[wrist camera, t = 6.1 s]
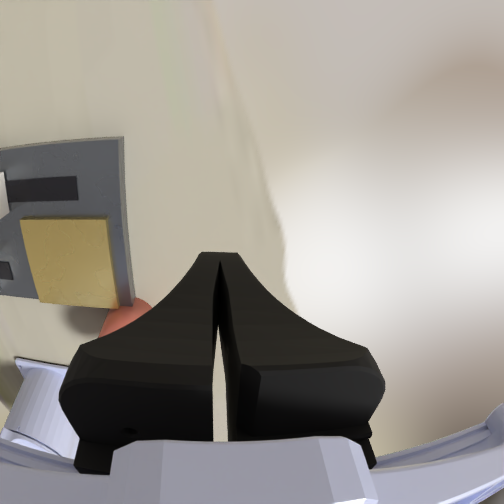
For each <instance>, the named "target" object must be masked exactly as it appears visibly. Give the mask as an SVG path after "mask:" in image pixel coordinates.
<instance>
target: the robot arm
mask: <svg viewBox="0 0 504 504" xmlns="http://www.w3.org/2000/svg"><path fill="white" fill-rule="evenodd" d="M218 327H219V335H220V342H221V350H222V357H223V364H224V372H225V381H226V402H227V428H228V442H213V393H212V383H213V368H214V359H215V349H216V340H217V330H218ZM15 363H16V365H17V367H18V368H19V370H20V372H21V374H22V376H23V378H24V381H23V383H22V385H21V388H20V390H19V392H18V394H17V397H16V399H15V401H14V403H13V406H12V408H11V410H10V413H9V415H8V418H7V420H6V423H5V425H4V427H3V428H2V431H1V433H0V504H477V503H479V502H481V501H483V500H484V499H486V498H488V497H489V496H491V495H493V494H494V493H496V492H497V491H499V490H500V489H502V488H504V403H502V404H500V405H499V406H497V407H496V408H495V409H494V410H493V411H492V412H491V413H490V414H489V416H488V417H487V418H486V420H485V422H482V423H480V424H478V425H475V426H473V427H470V428H468V429H465V430H463V431H460V432H457V433H455V434H452V435H449V436H446V437H444V438H441V439H438V440H435V441H432V442H429V443H426V444H423V445H419V446H416V447H413V448H409V449H405V450H402V451H399V452H394V453H391V454H387V455H383V456H378V457H375V455H374V452H373V450H372V447H371V444H370V441H369V439H368V438H370V437H371V436H372V431H371V428H370V425H369V423H368V421H369V420H370V418H371V416H372V415H373V413H374V411H375V410H376V408H377V406H378V404H379V403H380V401H381V399H382V397H383V394H384V392H385V380H384V378H383V376H382V374H381V372H380V370H379V368H378V365H377V363H376V362H375V360H374V358H373V357H372V355H371V353H370V352H369V350H368V349H367V348H366V347H363V346H361V345H358V344H355V343H352V342H350V341H347V340H344V339H342V338H339V337H337V336H335V335H332V334H330V333H328V332H326V331H324V330H322V329H320V328H318V327H316V326H314V325H313V324H311V323H309V322H307V321H306V320H305V319H303V318H301V317H300V316H298V315H297V314H295V313H294V312H292V311H291V310H290V309H288V308H287V307H286V306H284V305H283V304H282V303H281V302H279V301H278V300H277V299H276V298H275V297H274V296H273V295H271V294H270V293H269V292H268V291H267V290H266V288H265V287H264V286H263V285H262V284H261V283H260V282H259V281H258V279H257V278H256V277H255V276H254V275H253V273H252V272H251V271H250V269H249V268H248V267H247V265H246V264H245V262H244V261H243V259H242V258H241V256H240V255H239V254H238V253H228V252H201V253H200V254H199V255H198V257H197V259H196V261H195V262H194V264H193V265H192V267H191V268H190V270H189V271H188V272H187V273H186V275H185V276H184V277H183V279H182V280H181V281H180V282H179V283H178V284H177V285H176V286H175V287H174V289H173V290H172V291H171V292H170V293H169V294H168V295H167V296H166V297H165V298H164V299H163V300H161V301H160V302H159V303H158V304H157V305H156V306H154V307H153V308H152V309H150V310H149V311H148V312H146V313H145V314H143V315H142V316H140V317H139V318H137V319H136V320H134V321H132V322H131V323H129V324H127V325H125V326H124V327H122V328H120V329H118V330H116V331H114V332H112V333H109V334H107V335H105V336H102V337H100V338H97V339H95V340H92V341H90V342H87V343H85V344H82V345H80V346H79V348H78V350H77V352H76V354H75V355H74V357H73V359H72V361H71V363H70V365H69V367H65V366H59V365H53V364H47V363H42V362H36V361H31V360H26V359H21V358H16V360H15Z"/></svg>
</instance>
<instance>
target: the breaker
mask: <svg viewBox="0 0 504 504" xmlns="http://www.w3.org/2000/svg"><path fill="white" fill-rule="evenodd" d="M9 212H10V211H9V206H8V200H7V193H6V186H5V179H4V172H0V219H1V218H3V217H4V216H5V215H7V214H8V213H9Z"/></svg>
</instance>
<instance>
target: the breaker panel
mask: <svg viewBox="0 0 504 504" xmlns="http://www.w3.org/2000/svg"><path fill="white" fill-rule="evenodd" d="M0 172H4V179H5V186H6V193H7V200H8V206H9V211H10V212H9V213H8V214H7V215H5V216H4V217H3V218H1V219H0V295H7V296H15V297H24V298H33V299H39V300H40V302H42V303H52V304H62V305H73V306H85V307H97V308H111V309H119V307H120V306H133V303H134V300H135V297H136V296H135V289H134V281H133V273H132V265H131V256H130V246H129V235H128V223H127V210H126V193H125V170H124V137H104V138H88V139H75V140H63V141H53V142H44V143H35V144H27V145H20V146H12V147H6V148H0Z"/></svg>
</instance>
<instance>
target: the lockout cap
mask: <svg viewBox="0 0 504 504" xmlns="http://www.w3.org/2000/svg"><path fill="white" fill-rule="evenodd" d="M150 309H152V307H151V306H150V305H149V304H148V303H146V302H145V301H143V300H141V299H139V298H136V297H135V300H134V303H133V306H120V307H119V309H111V308H110V309H109V312H108V314H107V316H106V319H105V321H104V324H103V326H102V329H101V331H100V334H99V337H98V338H100V337H102V336H105V335H107V334H109V333H112V332H114V331H116V330H118V329H120V328H122V327H124V326H125V325H127V324H129V323H131V322H132V321H134V320H136V319H137V318H139V317H140V316H142V315H143V314H145V313H146V312H148V311H149V310H150Z"/></svg>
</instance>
